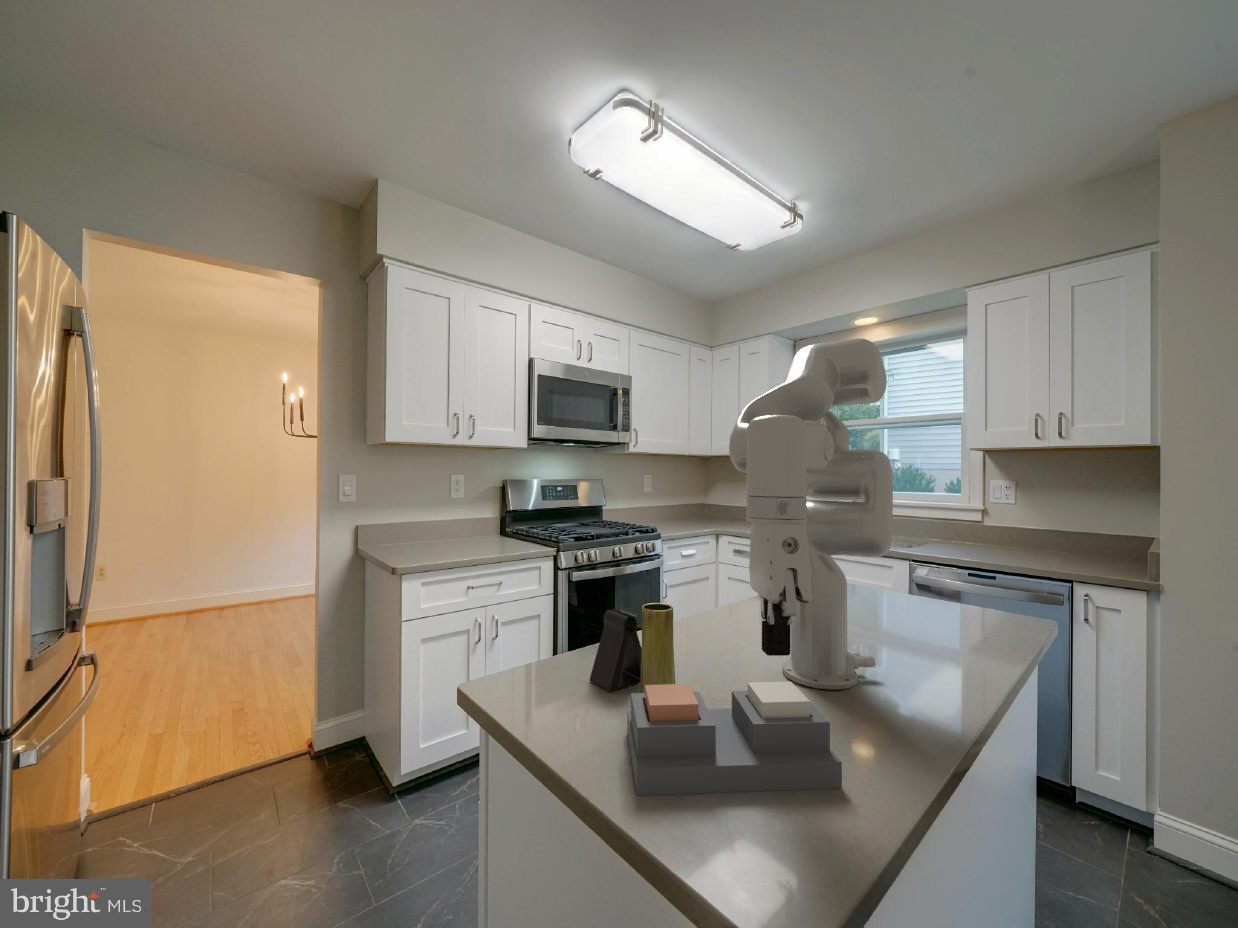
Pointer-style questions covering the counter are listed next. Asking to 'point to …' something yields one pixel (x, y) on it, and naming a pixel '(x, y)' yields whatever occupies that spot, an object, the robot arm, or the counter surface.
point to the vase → (657, 645)
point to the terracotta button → (670, 703)
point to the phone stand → (617, 653)
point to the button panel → (730, 751)
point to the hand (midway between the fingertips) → (775, 653)
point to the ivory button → (778, 700)
